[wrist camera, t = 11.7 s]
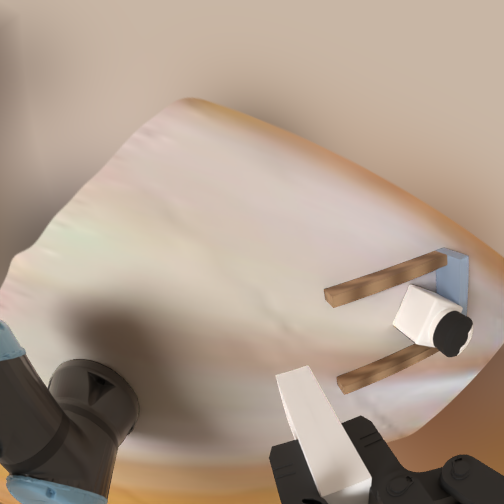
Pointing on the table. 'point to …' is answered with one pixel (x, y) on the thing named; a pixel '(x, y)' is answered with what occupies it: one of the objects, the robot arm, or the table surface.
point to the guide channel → (374, 285)
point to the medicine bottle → (433, 321)
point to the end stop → (454, 278)
